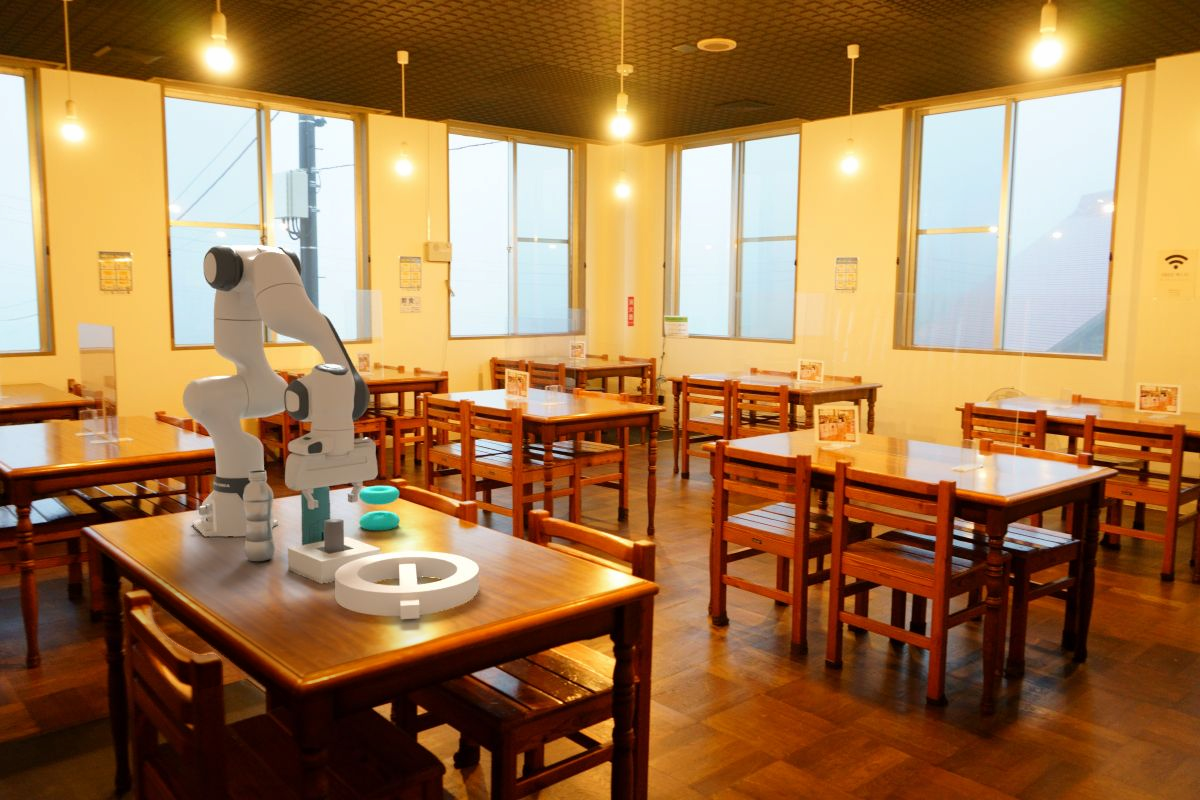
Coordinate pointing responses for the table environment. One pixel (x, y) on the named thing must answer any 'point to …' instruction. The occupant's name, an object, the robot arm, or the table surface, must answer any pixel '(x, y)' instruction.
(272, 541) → the plastic bottle
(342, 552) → the stand
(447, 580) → the white circle with bar
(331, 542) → the grey rectangular block
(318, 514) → the beverage bottle
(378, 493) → the donuts
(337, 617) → the table surface
